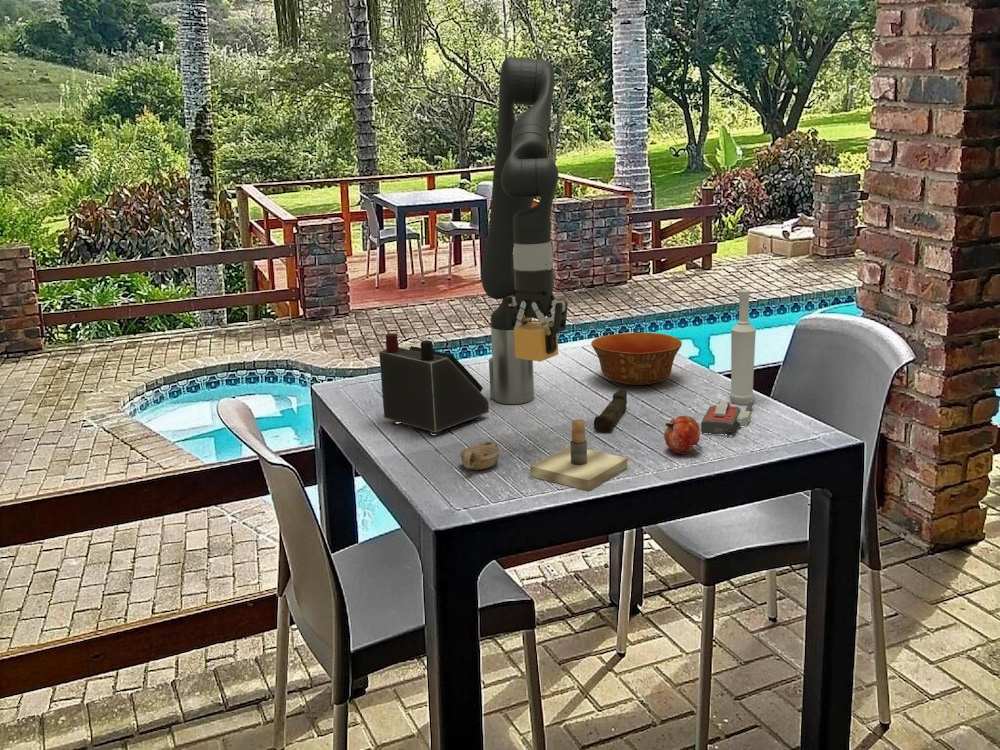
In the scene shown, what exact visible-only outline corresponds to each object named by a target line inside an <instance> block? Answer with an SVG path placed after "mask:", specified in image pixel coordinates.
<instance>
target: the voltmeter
mask: <svg viewBox="0 0 1000 750" xmlns="http://www.w3.org/2000/svg"><path fill="white" fill-rule="evenodd" d="M385 346H386V347H385V349H383V350H379V351H378V354H379V367H380V377H381V378H380V380H381V391H382V392H381V394H382V406H383V418H384V419H388V420H391V421H392V422H393V423H394V422H401V423H402V424H405V425H408V426H412V427H415V428H418V429H419V428H420V429H423V430H426V431H429V432H430V434H431V433H432V434H440V433H442V430H445V429H448V428H451V427H453V426H456V425H459V424H461V423H464V422H466V421H469V420H471V419H472V420H471V421H479V420H480V419H481V416H482V415H485V414H488V413H490V401H489V400H488V399H487V397H485V396H484V394H483V393H482V390H483V389H484V387H483V386H482V385H481V384H480V383H479V381H478V380H477V379H476V378H475V377H474V376H473V375H472V373H470V371H468V369H466V367H465V366H464V365H463V364H462V363H461V362H460V361H459V360H458V359H457V358H456V357H455V356H454V355H453V354H451V353H446V352H443V351H439V350H438V351H437V350H434V346H433V341H432V340H422V341H420V347H418V346H413V345H412V346H410V347H409V349H408V348H403V347H400V346H399V340H398V333H387V334H386V335H385ZM478 419H479V420H478ZM440 435H441V434H440Z"/></svg>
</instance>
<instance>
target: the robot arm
mask: <svg viewBox="0 0 1000 750" xmlns="http://www.w3.org/2000/svg"><path fill="white" fill-rule="evenodd" d="M554 89H555V70H554V67H553V64H552V63H551V62H550V61H548V60H546V59H538V58H528V57H527V58H525V57H514V56H509V57H506V58H504V59H503V62H502V64H501V68H500V74H499V91H498V119H497V120H498V123H497V125H498V126H497V138H496V139H497V141H496V147H495V148H496V149H495V157H494V166H493V174H492V175H493V176H492V189H491V202H490V203H491V205H490V213H489V221H488V222H489V223H488V231H487V238H486V243H485V248H484V253H483V257H482V258H483V259H482V264H481V272H480V275H481V277H480V278H481V280H480V281H481V285H482V288H483V291H484V292H485V294H486V295H487V296H488V297H489V298H491V299H493V300H502V301H501V303H500V304H499V306H498V307H497V308H496V309H495V310H494V311H493V312H492V313H491V315H490V333H491V334H490V336H491V357H489V359H488V370H489V371H488V372H489V374H488V375H489V390H490V392H489V393H490V394H489V395H490V399H491V400H494V401H495V402H497V403H499V404H505V405H519V404H525V403H529V402H531V401H533V400H534V399H535V387H534V386H535V385H534V382H535V381H534V379H535V378H534V377H535V376H534V361H533V360H526V359H519V358H515V339H514V328H515V327H518V326H522V325H524V324H528V323H529V322H533V321H532V320H533V319H535V320H538V322H540V324H541V325H542V326H543V328H544V329H545V333H546V334H547V335H545V341H546V353H547V354H551V353H554V352H555V350H556V348H557V345H556V344H557V343H556V342H557V341H556V334H557V333H560V332H563V331H565V330H566V326H567V314H568V301H566V300H562V301H560V300H556V299H555V297H554V294H553V292H554V287H555V284H554V283H555V280H554V278H555V277H554V276H555V275H554V256H553V255H554V254H553V253H554V252H553V248H552V247H553V246H552V234H551V233H552V232H551V214H552V208H553V207H552V206H553V202H554V201H553V200H554V197H555V193H556V189H557V187H558V180H559V169H558V167H557V165H556V163H555V162H554V161H553V160H552V159H551V158H548V154H549V140H548V139H549V138H548V137H549V136H548V135H549V134H548V132H549V131H548V130H549V124H550V118H551V113H552V106H553V99H554V91H555V90H554ZM514 105H526V106H530V107H529V108H528V109H526V110H525V111H524V112H523V113H522V114H521V115H520V116H519V117H518V118H517V120H516V117H515V112H514ZM535 198H539V201H538V203H537V204H536V205H535V206H532V205H533V204H534V199H535ZM552 308H553V309H552ZM553 312H554V313H553ZM532 318H533V319H532ZM550 327H551V328H550Z"/></svg>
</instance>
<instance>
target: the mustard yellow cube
mask: <svg viewBox="0 0 1000 750" xmlns="http://www.w3.org/2000/svg"><path fill="white" fill-rule="evenodd" d="M550 328H551V327H550ZM558 333H559V332H558ZM558 333H557V334H556V341H557V342H556V343H557V344H556V345H557V348H556V350H555V352H554V353H551V354H547V353H546V341H545V335H547V334H546V333H545V329H544V328H543V326H542V325H541V324H540V322H539V321H532V322H529V323H528V324H524V325H522V326H518V327H515V328H514V339H515V358H519V359H526V360H533V362H542V361H543V362H544V361H546V360H548V359H551V358H553V357H557V356H558V355H559V337H558V336H559V335H558Z"/></svg>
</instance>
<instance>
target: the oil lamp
mask: <svg viewBox="0 0 1000 750" xmlns="http://www.w3.org/2000/svg"><path fill="white" fill-rule="evenodd" d="M459 456H460V459H461V462H462V464H463V466H464V468H466V469H470V470H472V471H473V470H474V471H479V470H486V469H489V468H492V467H494V465H495V464H496V463H497V462H498V459H499V456H500V447H499V444H498V443H497V442H494V441H483V442H479V445H471V446H470V447H467V448H463V449H462V450H460V452H459Z"/></svg>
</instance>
